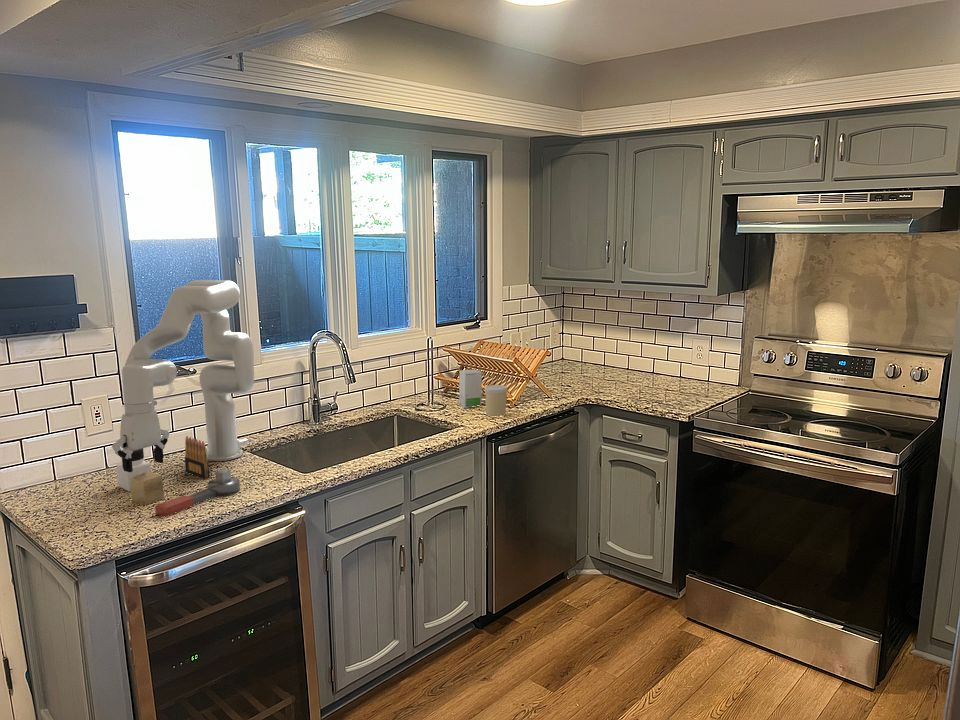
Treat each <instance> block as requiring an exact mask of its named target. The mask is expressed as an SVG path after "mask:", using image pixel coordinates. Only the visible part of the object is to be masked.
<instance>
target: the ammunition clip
mask: <svg viewBox="0 0 960 720" xmlns="http://www.w3.org/2000/svg"><path fill="white" fill-rule="evenodd" d="M184 447H185V449H184V451H185V452H184V453H185V456H184V466H185V467H184V469H185V473H186V472H187V474H189V473H190V474H189V475H192V474H193V475H192V476H194V475H195V477H197V476H198V477H197V478H200V479H202V478H203V479H202V480H207V479H210V478H211V477H210V475H211V474H210V465H209V461H208V460H207V454H206V451H207V450H206V444H205V441H203V440H202V441H201V440H200V439H199V440H198V439H197V438H194V437H191V436H188V435H186V437H185V445H184Z"/></svg>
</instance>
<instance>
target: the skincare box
mask: <svg viewBox="0 0 960 720" xmlns="http://www.w3.org/2000/svg"><path fill="white" fill-rule="evenodd" d="M458 374H459V378H458V379H459V380H458V381H459V382H458V383H459V388H458V392H459V395H458V398H459V399H458V405H459V407H461V406H462V408H463V407H464V408H463V409H468V408H467V407H472V406H477V405H481V406H482V393H483V391H482V388H483V387H482V381H483V380H482V377H483V372H482V371H481V370H478V369H461V370H459V373H458Z"/></svg>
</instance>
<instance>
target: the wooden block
mask: <svg viewBox="0 0 960 720" xmlns="http://www.w3.org/2000/svg"><path fill="white" fill-rule="evenodd" d="M130 483H131V491H130V493H131V499H132V500H131V501H132V502H133V503H138V504H140V505H144V506H147V505H149V504H153V503H156V502H157V501H158V502H159V501H160V500H161V501H162V500H163V498H164V499H165V493H164V481H163V474H160V473H159V474H158V473H156V472H152V471H151V472H146V473H143V474H140V475H137V476H134V477H131V478H130ZM152 502H153V503H152Z"/></svg>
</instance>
